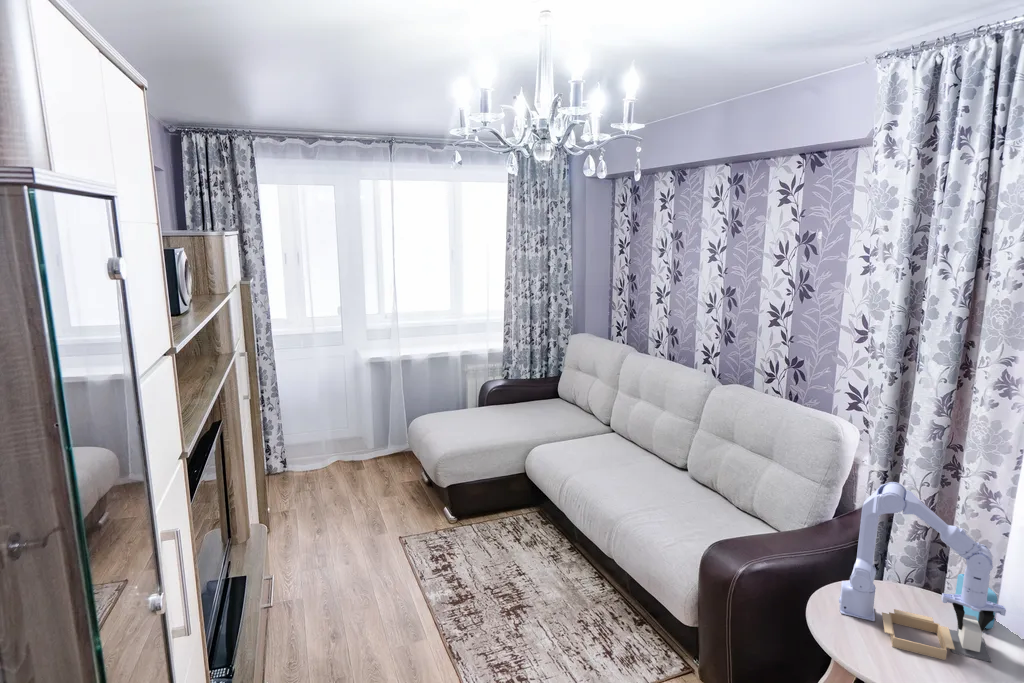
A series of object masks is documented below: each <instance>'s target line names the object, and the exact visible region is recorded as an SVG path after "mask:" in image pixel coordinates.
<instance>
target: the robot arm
mask: <svg viewBox="0 0 1024 683" xmlns="http://www.w3.org/2000/svg"><path fill="white" fill-rule="evenodd" d="M900 512H902V515H914V516H916V517H917V518H919V519H920V520H921V521H922V522H924V523H925V524H926V525H928V526H929V527H930V528H932V529H933V530H935V531H936V532H937V533H939V537H940V540H941V541H942V542H943V543H944V544H945V545H946V546H947V547H949V549H951V550H953V551H954V553H956V554H957V555H958V556H960V557H961V558H963V559H965V562H966V565H965V566H966V567H965V569H964V571H963V572H964V573H963V574H964V580H963V587H962V594H961V595H958V594H955V593H954V594H953V593H945V592H942V593H941V602H942V603H944V604H948V603H949V604H952V606H953V610H954V613H955V616H956V620H957V622H956V623H957V627H958V628H959V629H960V630H962V626H963V617H964V614H965V612H964V607H963V606H966V607H969V608H971V609H972V610H973V611H978V612H979V621H978V623H979V626H980V628H981V631H982V633H983V632H984V630H985V627H986V626H987V625H988V623H990V622H991V621H992V620H993V619H994V620H995V618H994V614H993V613H994V612H995V614H999V615H1000V616H1004V617H1005V616H1006V614H1007V613H1006V612H1007V609H1006V606H1005V605H1001V604H998V603H997V604H995V603H992V602H989V601H987V594H988V588H990V587H989V586H990V580H991V575H990V574H991V571H992V570H993V568H994V566H993V565H994V564H993V555H992V552H991V551H990V549H989V548H988V547H987V545H985V544H982V543H980V542H979V541H978V542H976V541H975V540H974V539H973V538H971V537H970V536H969V535H968V534H967V530H965V529H964V528H962V527H961V528H959V527H958V526H956V525H950V524H947V522H945V521H944V520H943V519H942V518H941V517H940V516H938V515H937V514H936V513H935V512H934V511H933V510H932V509H931V508H929V507H928V506H927V505H926V504H925V503H924V502H922V501H921V500H920V499H919V498H918V496H916V495H915V494H914V492H912V491H911V490H909V489H906V487H905V486H904V485H903V484H901V483H899V482H896V481H890V482H887V483H885V484H881V485H879V487H878V488H877V489H876V490H875V491H874V492H872V494H871V495H870V496H868V497H867V498H866V499H865V500H864V501H863V504H862V508H861V515H860V516H861V517H860V526H859V535H858V543H857V552H856V560H855V562H854V564H853V569H852V572H851V575H850V576H849V580H847V581H846V580H841V585H840V596H839V598H838V603H839V611H840V614H842V615H845V616H849V617H855V618H859V619H863V620H865V621H872V622H875V621H876V616H875V610H874V609H875V608H874V607H875V599H876V598H875V597H876V588H877V587H876V585H875V583H874V582H875V578H876V575H877V569H876V567H875V552H876V546H877V545H876V544H877V538H878V537H877V534H878V527H879V519H880V518H879V517H880V516H882V515H884V514H896V513H900Z"/></svg>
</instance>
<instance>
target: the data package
mask: <svg viewBox="0 0 1024 683" xmlns="http://www.w3.org/2000/svg"><path fill="white" fill-rule="evenodd" d="M963 580H964V573H959V574H957V579H956V586H955V593H954V594H958V595H961V594H962V587H963ZM987 601H989V602H992V603H995V604H998V595H997V594H996V593H995V591H993V589H992V588H990V587H989V588H988V594H987ZM963 607H964V612H965V614H966V615H971V616H975V617H976V618H977V620H978V621H979V612H978V611H973V610H972V609H971V608H969V607H966V606H963ZM993 614H994V619H993V620H992V621H991V622H990V623H988V625H987V626H986V627H985V628H986V630H987V629H988V630H989V629H990V630H991V629H993V628H994V623H995V617H996V613H995V612H994V613H993Z"/></svg>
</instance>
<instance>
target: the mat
mask: <svg viewBox="0 0 1024 683" xmlns="http://www.w3.org/2000/svg"><path fill="white" fill-rule="evenodd" d="M949 631H950V635H951V638H952V641H953V644H954V648H955V650H954V649H950V651H951V653H952V654H957V655H961V656H965V657H968V658H972V659H977V660H981V661H985V662H989V663H991V662H992V659H991V656H990V654H989V652H988V649H987V646H986V644H985V640H984V639H983V637H982V640H981V647H980V652H977V651H973V650H969V649H964V648H962V645H961V642H960V639H959V636H958V633H957V630H954V629H949Z"/></svg>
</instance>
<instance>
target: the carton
mask: <svg viewBox="0 0 1024 683" xmlns="http://www.w3.org/2000/svg"><path fill="white" fill-rule="evenodd" d="M881 614H882V615H881V616H882V622H883V628H884V629H883V631H884V634H889V636H890V641H891V647H892V648H896V649H900V650H904V651H908V652H912V653H915V654H920V655H924V656H927V657H932V658H936V659H938V660H939V659H940V660H944V661H947V655H948V650H947V649H949V650H951V649H954V650H955V648H954V644H953V641H952V638H951V635H950V631H949V627H947V626H943V625H940V623H937V622H935V621H934V619H933V617H931V616H926V615H922V614H919V613H912V612H908V611H904V610H900V609H896V608H894V609H893V612H888V613H886V612H881ZM894 624H895V625H901V626H905V627H908V628H909V627H910V628H913V629H918V630H922V631H925V632H930V633H934V634H936V635H937V639H938V642H939V646H940V647H937V646H934V645H933V646H932V645H928V644H924V643H920V642H916V641H912V640H908V639H903V638H900V637H899V638H898V637H896V636H895V631H894V630H895V629H894Z"/></svg>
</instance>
